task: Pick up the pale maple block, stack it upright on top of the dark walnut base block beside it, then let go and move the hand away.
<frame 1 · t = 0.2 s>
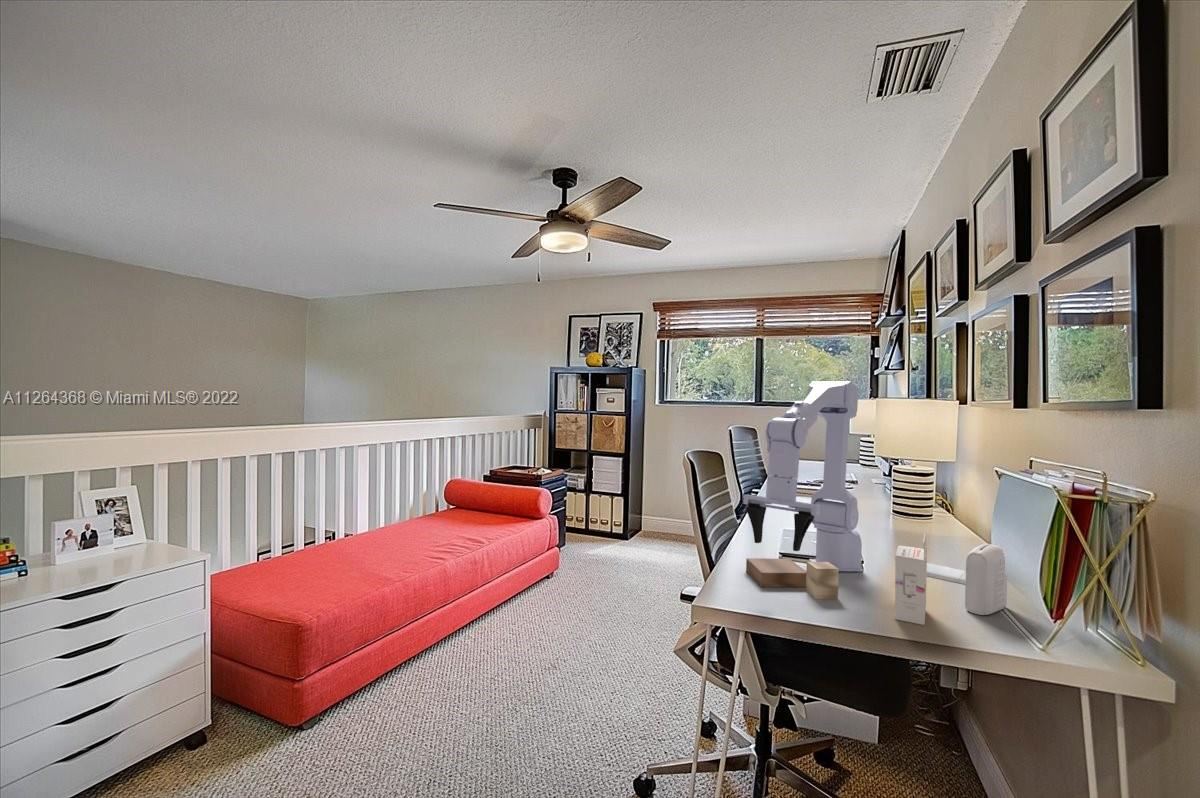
hand: (776, 546, 106), 10 cm above the table, tool pointing down, fingers open, 7 cm apart
ink cartridge box: (909, 616, 99), on the table
walnut base: (775, 579, 117), on the table
maple block: (821, 594, 108), on the table
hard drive: (937, 576, 124), on the table
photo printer: (985, 610, 103), on the table
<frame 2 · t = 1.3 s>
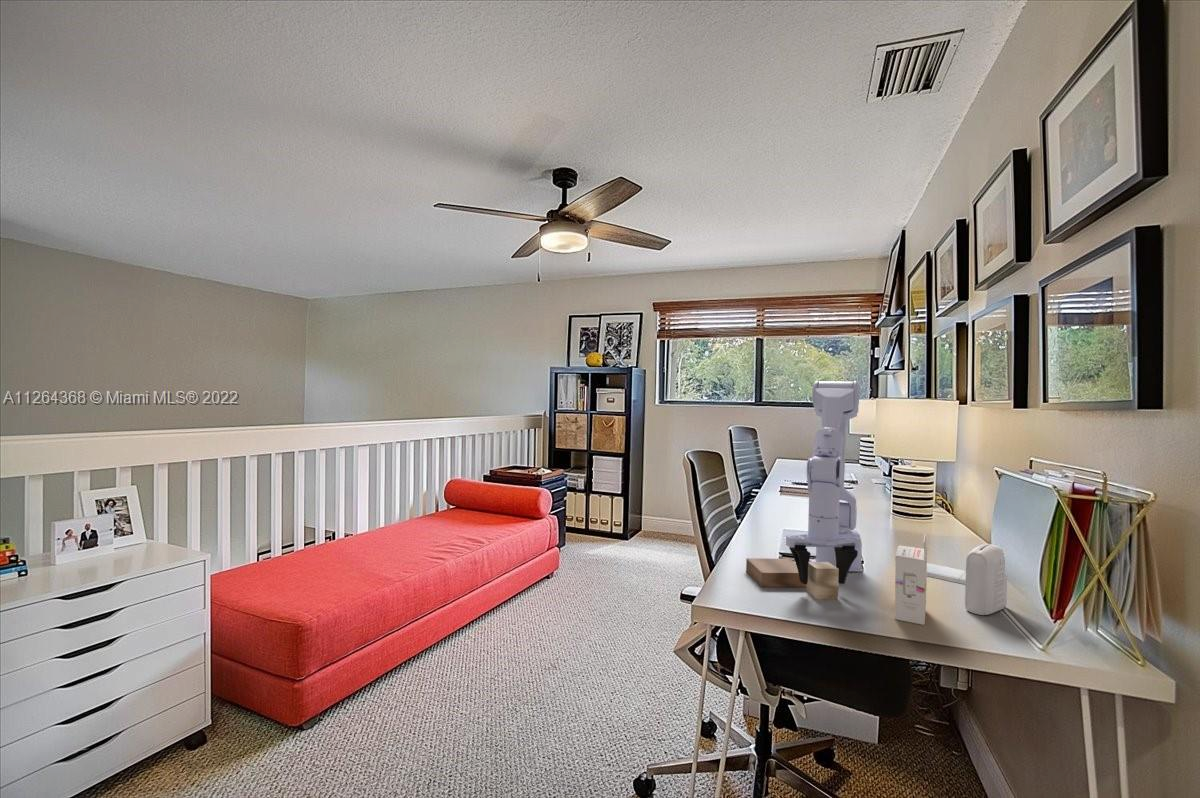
hand: (821, 582, 108), 2 cm above the table, tool pointing down, fingers open, 7 cm apart
nothing on the table moved.
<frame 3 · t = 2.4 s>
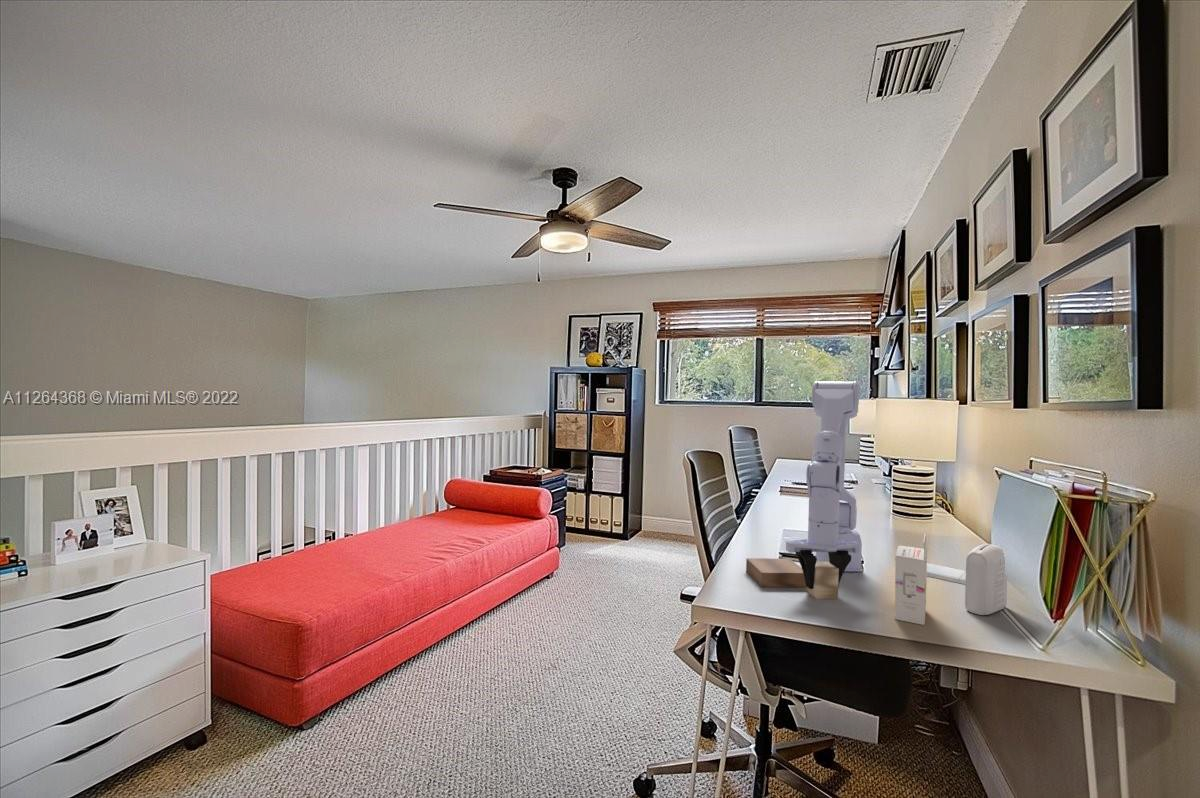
hand: (821, 587, 108), 1 cm above the table, tool pointing down, fingers closed on maple block, 4 cm apart
maple block: (821, 594, 108), on the table, touching gripper
everything else where it was.
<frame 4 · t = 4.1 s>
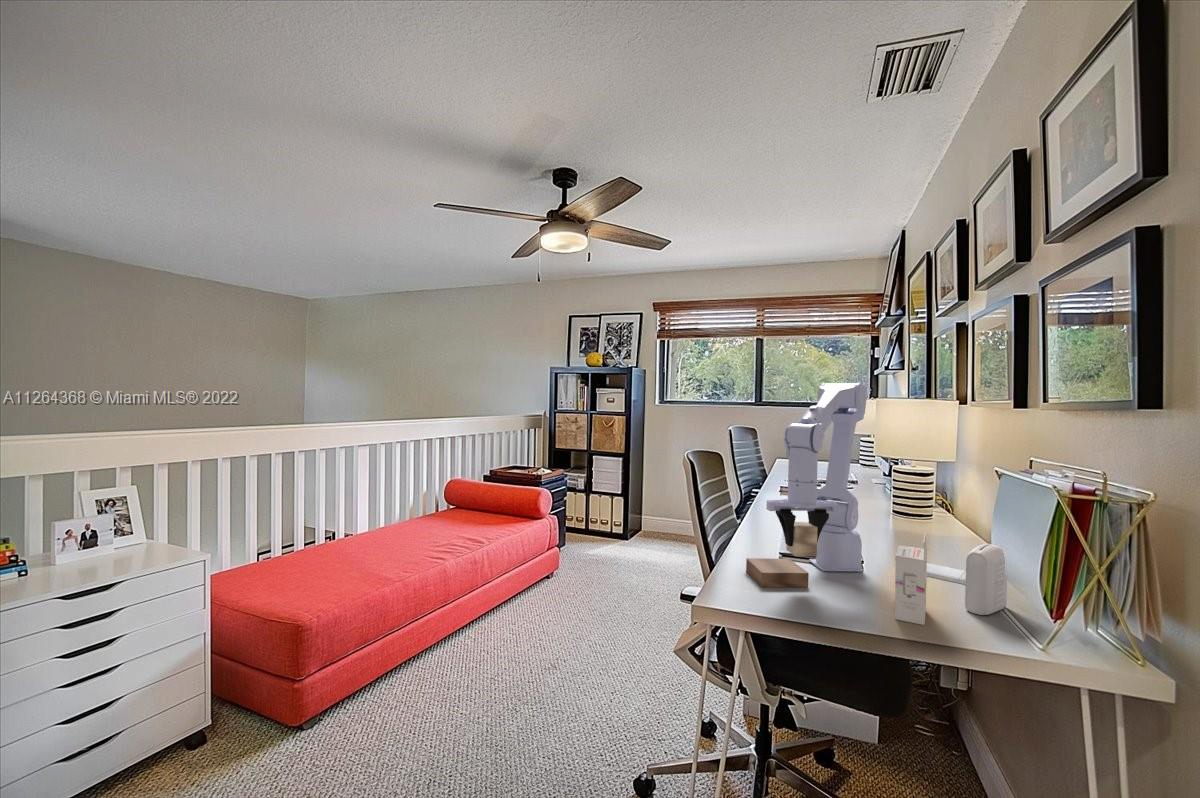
hand: (800, 545, 112), 9 cm above the table, tool pointing down, fingers closed on maple block, 4 cm apart
maple block: (801, 552, 112), point 7 cm above the table, touching gripper
everything else where it was.
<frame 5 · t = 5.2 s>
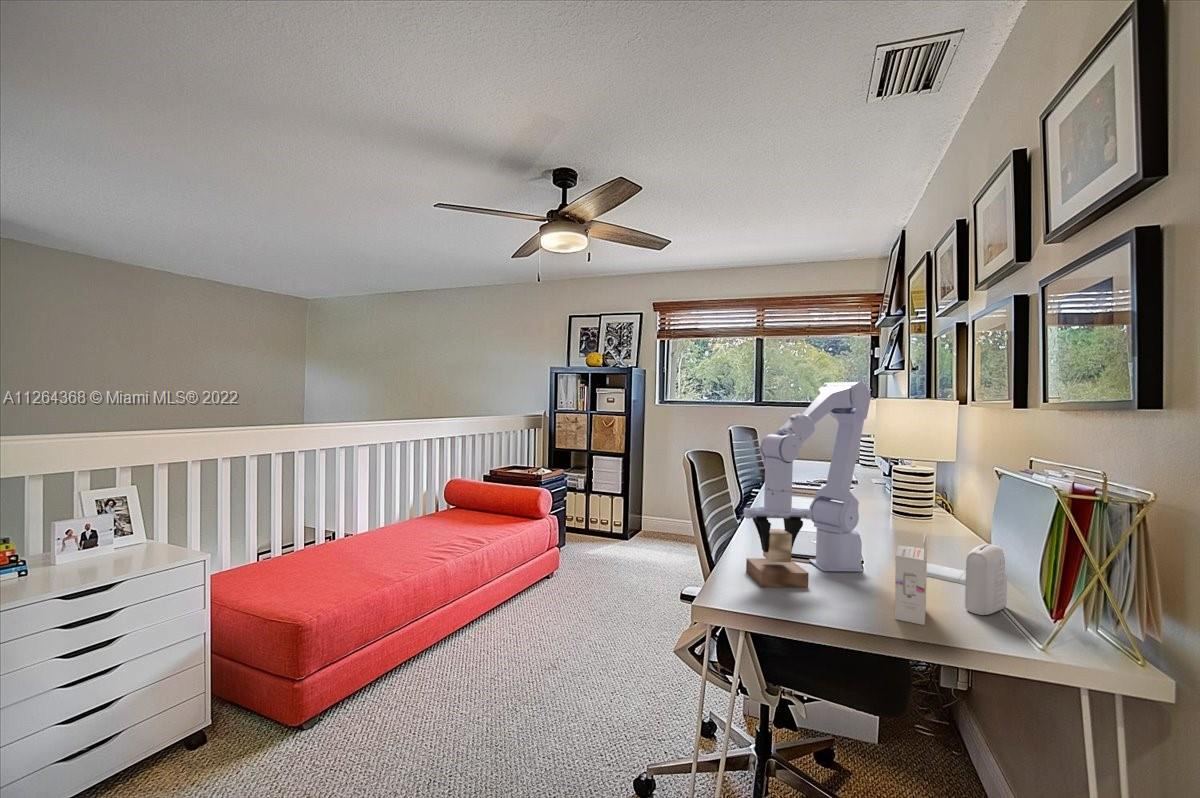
hand: (776, 551, 117), 6 cm above the table, tool pointing down, fingers closed on maple block, 4 cm apart
maple block: (776, 558, 117), point 4 cm above the table, touching gripper
everything else where it was.
when the fingers open (6 cm above the table, at t = 5.8 s): maple block stays where it is, resting on walnut base.
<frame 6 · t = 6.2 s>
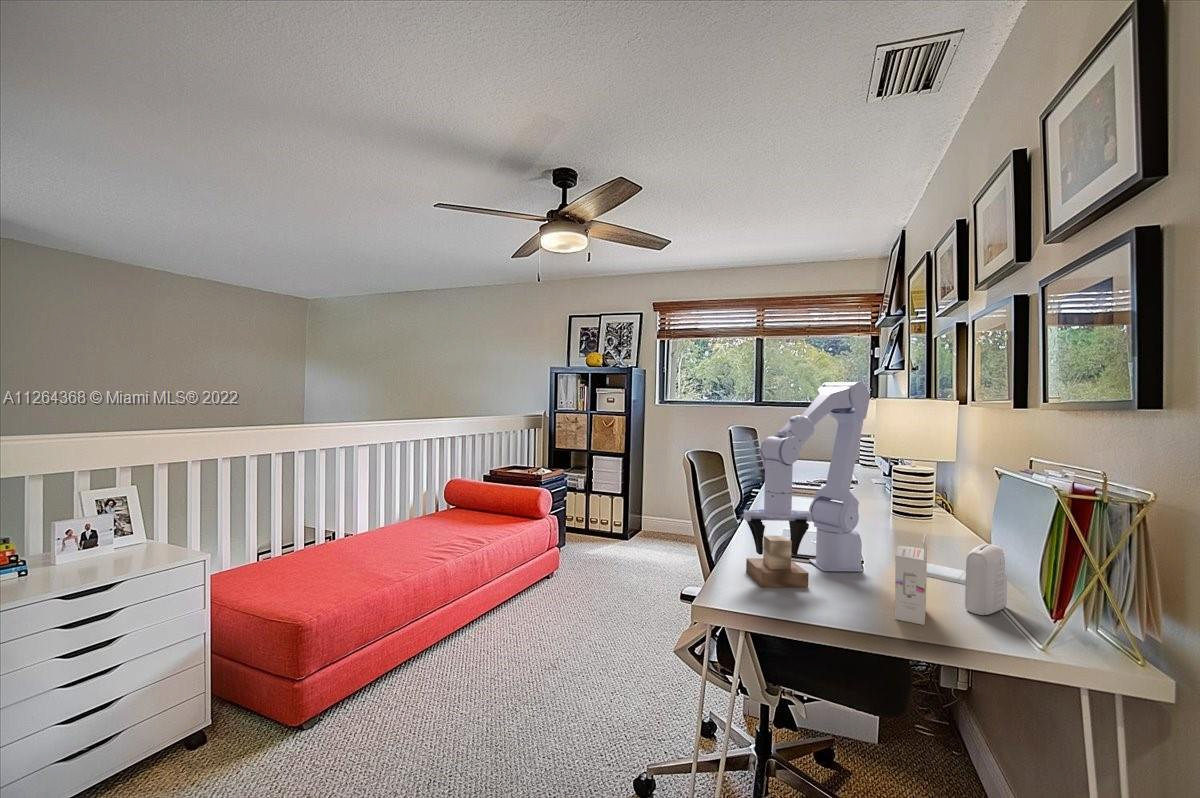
hand: (776, 553, 117), 6 cm above the table, tool pointing down, fingers open, 7 cm apart
maple block: (776, 565, 117), point 3 cm above the table, touching walnut base
everything else where it was.
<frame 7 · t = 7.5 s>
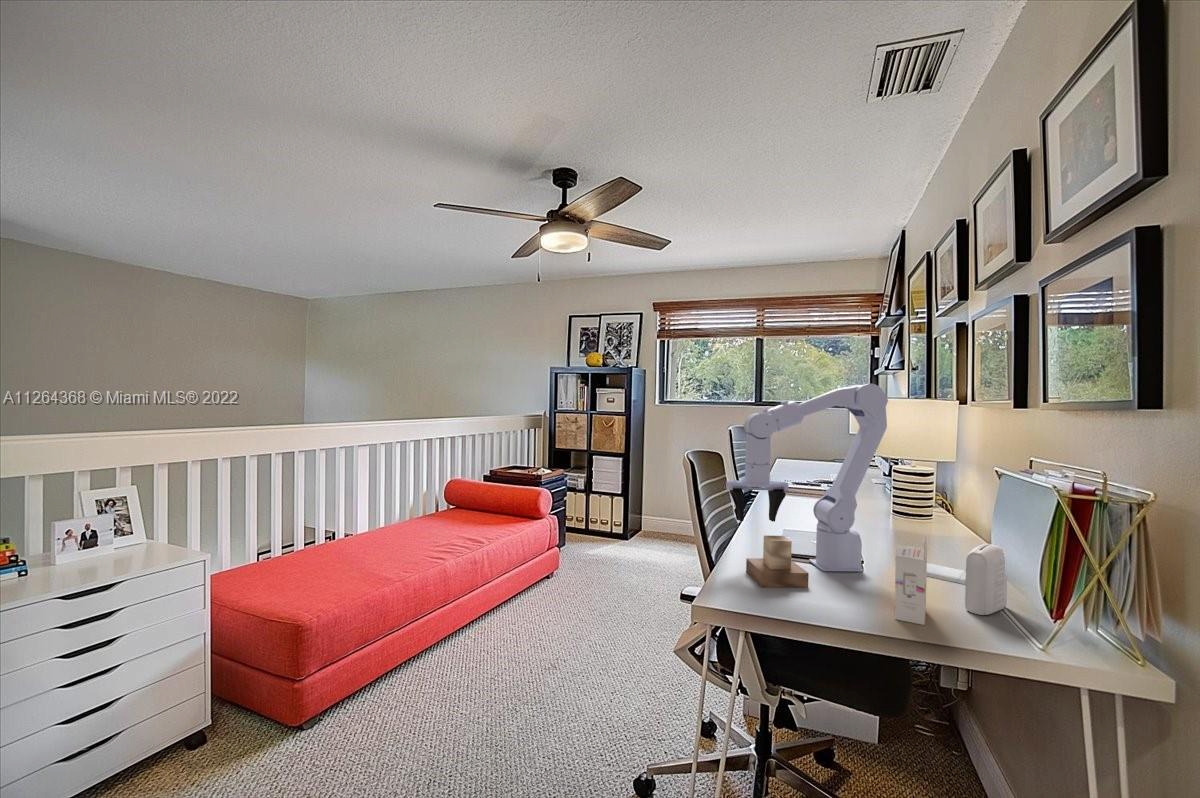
hand: (756, 520, 128), 10 cm above the table, tool pointing down, fingers open, 7 cm apart
nothing on the table moved.
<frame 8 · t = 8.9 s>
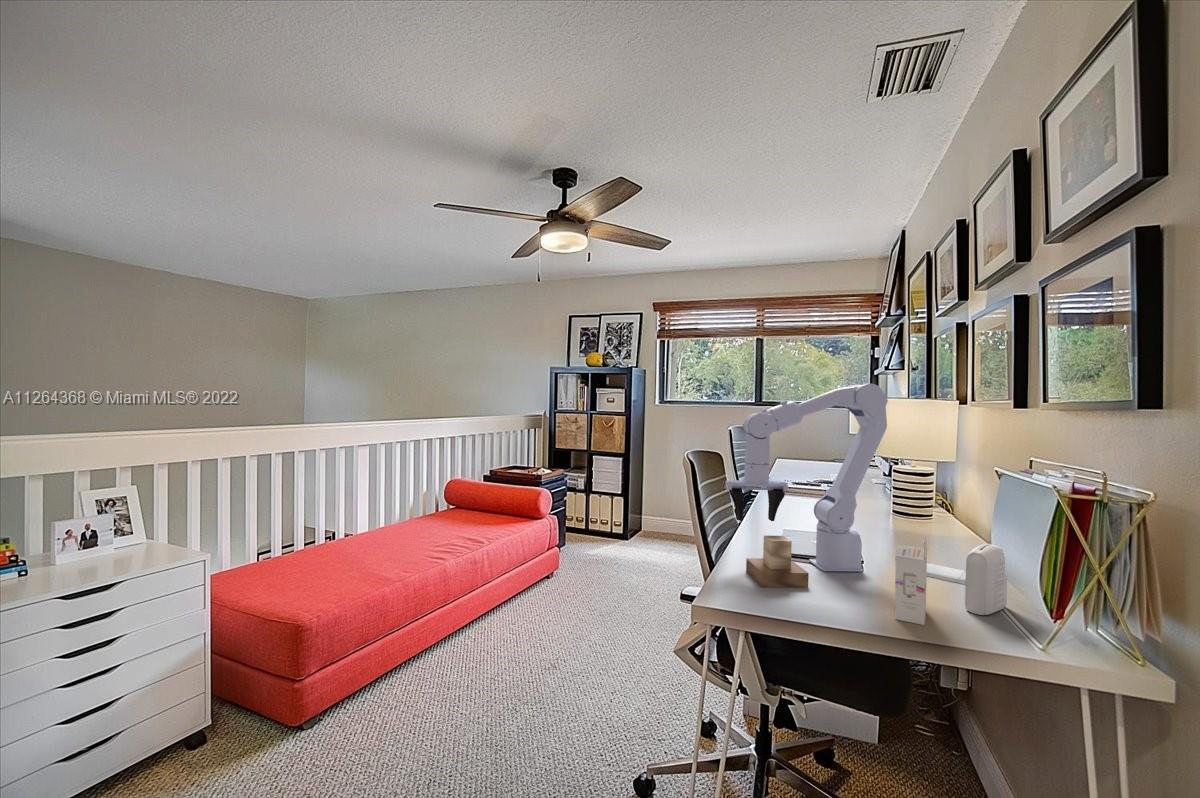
hand: (755, 520, 128), 10 cm above the table, tool pointing down, fingers open, 7 cm apart
nothing on the table moved.
at the end: maple block 0.2 cm off-centre on the walnut base, point 3.0 cm above the walnut base's base; maple block tilted 0°; the gripper is holding nothing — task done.
